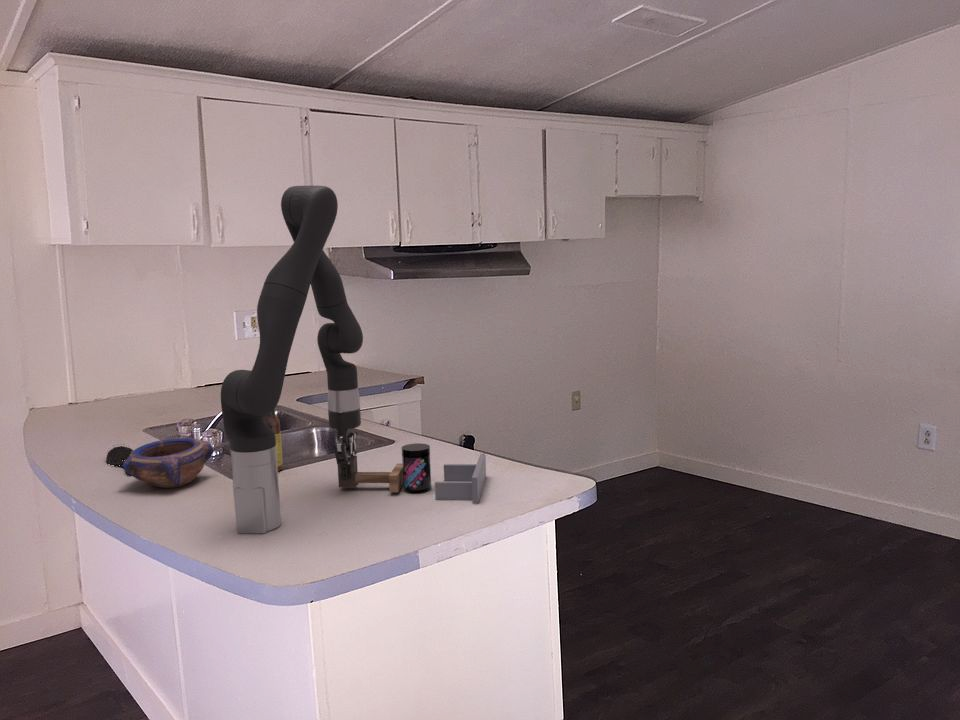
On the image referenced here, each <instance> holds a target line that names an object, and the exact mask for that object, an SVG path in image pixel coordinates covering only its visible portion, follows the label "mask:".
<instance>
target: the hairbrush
mask: <svg viewBox="0 0 960 720" xmlns="http://www.w3.org/2000/svg"><path fill="white" fill-rule="evenodd" d="M114 446H115V444H113V445H112V447H113V448H110V449H109V450H108V451H107V454H106V457H105V462H106V464H107V465H108V464H110V465H114V466H119V465H120V467H123V462H124V461H122V460H126V459H127V458H128V457H129V456H130V454H131V453H132V451H134V450H133V448H130V447H128V446H125V443H123V445H122V444H121V443H120V444H118V443H117V446H115V447H114ZM110 465H109V466H110ZM125 474H126V475H127V476H128V475H129V476H132V475H130V474H129V473H128V472H127V471H126V470H125ZM129 476H128V477H129Z"/></svg>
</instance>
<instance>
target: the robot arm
mask: <svg viewBox="0 0 960 720" xmlns="http://www.w3.org/2000/svg"><path fill="white" fill-rule="evenodd" d="M280 199H281V201H280V209H281V214H282V217H283V220H284V223H285V225H286V227H287V229H288V232H289V234H290V236H291V239H292V241H293V243H292V245H291V247H290V248H289V249H288V250H287V251H286V252H285V253H284V255H283V256H282V257H281V258H280V259H279V260H278V261H277V263H275V264H274V266H273V267H272V269H271V270H270V271H269V272H268V274H267V275H266V278H265V279H264V282H263V286H262V289H261V290H260V295H259V298H258V301H257V306H256V319H257V324H258V326H257V327H258V332H259V344H258V345H259V346H258V350H257V355H256V358H255V361H254V364H253V366H252V369H251V370H248V369H235V370H233V371H231V372H230V373H228V374H227V375H226V376H225V378H224V379H223V381H222V383H221V388H220V405H221V414H222V422H223V429H224V430H223V431H224V434H225V436H226V438H227V440H228V442H229V448H230V465H231V477H232V478H231V480H232V490H233V491H232V492H233V503H234V513H235V526H236V534H266V533H267V532H269V531H272V530H276V529H277V528H279V527H280V526H281V525H282V513H281V512H282V511H281V502H280V501H281V500H280V499H281V498H280V483H279V473H278V468H277V452H276V438H275V433H274V431H273V430H272V429H270V428H269V427H268V426H267V425H266V423H265V422H264V420H263V418H262V417H265V416H267V415H269V414H270V413H271V412H272V411H273V410H275V409H276V407H277V406H278V404H279V401H280V398H281V394H282V390H283V387H284V381H285V376H286V371H287V368H288V367H287V366H288V361H289V357H290V353H291V350H292V346H293V343H294V339H295V335H296V332H297V329H298V325H299V322H300V319H301V317H302V315H303V312H304V307H305V304H306V302H307V299H308V294H309V291H310V287H311V291H312V295H313V299H314V301H315V306H316V309H317V313H318V315H319V316H320V317H322V318H325V319H328V320H329V321H332V322H327V323H326V322H325V323H324V324H322V325H321V327H319V330H318V332H317V341H316V342H317V347H318V349H319V352H320V356H321V358H322V361H323V364H324V368H325V371H326V377H327V378H326V379H327V380H326V381H327V413H328V414H327V416H328V427H329V428H331V429H332V430H335V431H337V432H336V435H335V443H334V444H333V446H332V447H333V452H334V455H335V460H336V464H337V466H338V465H340V466H341V479H342V480H350V479H351V469H350V463H351V462H350V456H357V454H358V451H357V448H358V433H359V432H358V430H355V429H356V428H359V427H360V426H361V425H362V415H361V401H360V399H361V398H360V392H359V383H358V369H357V366H356V365H355V364H354V363H352V362H349V361H346V360H345V359H343V357H342V354H356V353H357V352H359V351H360V350H361V348H362V346H363V342H364V335H363V330H362V328H361V326H360V322H359V321H358V320H357V318H356V316H355V314H354V311H353V310H352V309H351V307H350V305H349V303H348V301H347V300H348V299H347V297H346V291H345V287H344V284H343V283H344V282H343V280H342V277H341V274H340V273H339V271H338V270H337V268H336V266H335V265H334V263H333V262H332V260H331V259H330V258H329V257H328V255H327V254H326V252H325V250H324V247H325V246H326V245H325V244H326V243H327V240H328V238H329V236H330V234H331V231H332V229H333V226H334V224H335V222H336V219H337V215H338V207H339V206H338V203H339V202H338V198H337V195H336V193H335V192H334V190H333V189H332V188H331V187H329V186H326V185H294V186H290V187H288V188H287V189H286V190H285V191H284V192H283V194H282V196H281V198H280ZM342 457H344V459H342Z"/></svg>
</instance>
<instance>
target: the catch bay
mask: <svg viewBox="0 0 960 720" xmlns="http://www.w3.org/2000/svg"><path fill="white" fill-rule="evenodd" d="M486 460H487V459H486V453H480V454H479V457H478V460H477V463H474V464H473V463H467V464H466V463H465V464H464V463H447V464H446V463H444V464H443V481H434V495H435V500H436V501H439V499H440V501H458V500H459V501H463V500H464V501H472V504H473V503H478V504H479V502H478V501H480V498H481V496H482V495H481V494H482V492H481V491H483V489H484V485H485V482H486V478H487V463H486ZM482 488H483V489H482ZM442 499H443V500H442ZM468 499H469V500H468ZM471 499H472V500H471Z"/></svg>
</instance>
